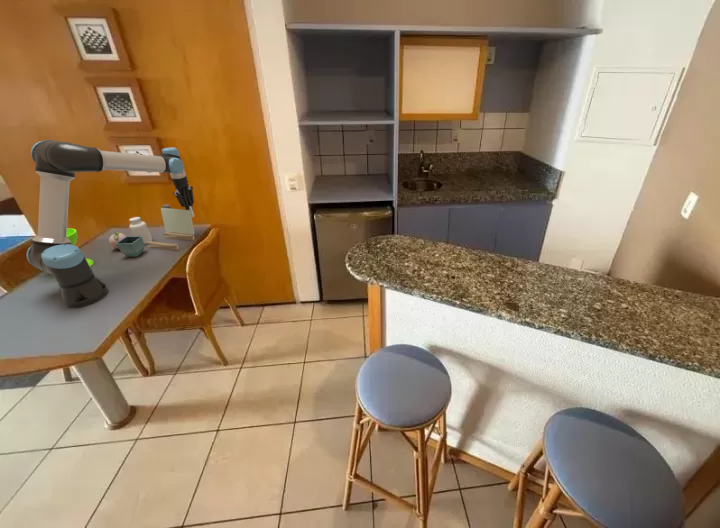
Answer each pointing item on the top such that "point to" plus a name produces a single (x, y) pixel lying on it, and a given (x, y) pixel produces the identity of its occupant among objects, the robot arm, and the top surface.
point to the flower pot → (131, 246)
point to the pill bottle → (140, 229)
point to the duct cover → (177, 221)
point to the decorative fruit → (116, 238)
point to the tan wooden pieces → (173, 236)
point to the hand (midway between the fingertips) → (191, 216)
